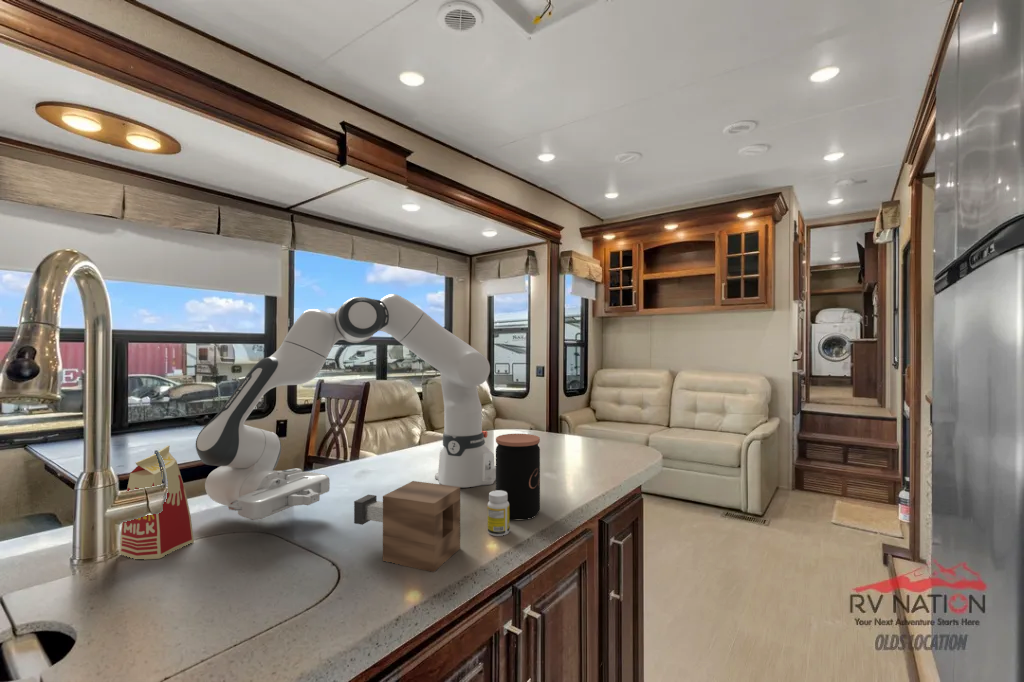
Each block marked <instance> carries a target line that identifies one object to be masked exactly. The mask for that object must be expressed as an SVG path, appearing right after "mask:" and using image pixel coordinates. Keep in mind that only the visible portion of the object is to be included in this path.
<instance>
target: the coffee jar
mask: <svg viewBox="0 0 1024 682" xmlns="http://www.w3.org/2000/svg"><path fill="white" fill-rule="evenodd" d="M540 440H541V438H540V437H539V436H537V435H535V434H531V433H530V434H529V433H506V434H502V435H500V434H499V435H498V436H496V437H495V442H496V444H497V446H496V447H495V466H496V480H495V491H496V490H501V491H505V492H507V496H508V500H507V501H508V502H509V520H510V519H527V520H529V519H528V518H531V519H533V518H534V516H535V517H536V516H537V515H538V514H539V512H540V510H541V449H540V446H539V444H540V442H541V441H540ZM537 513H538V514H537ZM532 517H533V518H532Z"/></svg>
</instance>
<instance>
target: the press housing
mask: <svg viewBox="0 0 1024 682" xmlns="http://www.w3.org/2000/svg"><path fill="white" fill-rule="evenodd" d="M382 502H383V522H382V562H383V561H387V562H386V563H388V562H392V563H391V564H393V563H395V564H394V565H398V564H400V565H399V566H402V567H403V566H404V567H406V568H407V567H408V568H413V569H418V570H422V571H427V572H433V573H435V572H436V571H437V570H438V569H439V568H440V567H442V565H444V564H445V563H446V562H447V561H448V560H449V559H450V558H451V557H452V556H454V555H455V554H456V553H457V552H458V551H459V550H460V549H461V487H457V486H449V485H442V484H440V483H432V482H426V481H425V482H424V481H423V482H422V481H416V480H412V481H409V482H408V483H406V484H404V485H402V486H400V487H398V488H396V489H394V490H393V491H391V492H388V493H386V494H384V495H382ZM444 562H445V563H444ZM443 563H444V564H443Z"/></svg>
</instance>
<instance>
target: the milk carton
mask: <svg viewBox="0 0 1024 682" xmlns="http://www.w3.org/2000/svg"><path fill="white" fill-rule="evenodd" d="M157 452H159V453H160V455H161V456H162V458H163V460H164V463H165V468H166V472H167V479H168V493H167V499H166V502H164V504H163V511H162V512H161V513H159V514H153V515H147V516H144V517H141V518H138V519H134V520H131V521H127V522H123V523H122V522H121V527H120V538H119V539H120V543H119V545H120V546H119V555H120V554H122V555H121V556H123V555H124V556H123V557H126V556H127V557H126V558H129V557H130V558H129V559H132V558H134V559H133V560H135V559H144V560H155V559H162V558H164V557H166V556H167V554H168V555H169V554H171V553H173V552H175V550H176V551H177V549H178V550H180V549H182V547H183V546H185V547H187V546H189V545H188V544H190V543H192V544H194V543H195V539H194V531H193V524H192V517H191V516H192V515H191V511H190V506H189V500H188V497H187V492H186V487H185V484H184V481H183V478H182V475H181V471H180V468H179V465H178V462H177V459H176V458H175V457H174V456H173V455H172V454H171V453H170V445H166V446H164V447H163V448H162V449H160V450H159V451H157ZM135 465H136V467H135V468H134V469H133V470H132V471H131V472H130V474H129V479H128V482H127V483H128V484H127V488H126V492H127V491H129V490H134V489H139V488H145V487H152V486H157V485H161V484H163V483H162V479H163V472H162V477H161V471H160V467H159V463H158V459H157V456H156V454H155V453H154V454H152V455H150V456H148V457H146V458H143V459H141V460H138V461H136V462H135ZM163 468H164V467H163ZM161 469H162V467H161ZM162 471H163V470H162ZM193 542H194V543H193ZM186 545H187V546H186ZM190 545H191V544H190ZM179 548H180V549H179ZM183 548H184V547H183ZM172 551H173V552H172ZM165 555H166V556H165Z"/></svg>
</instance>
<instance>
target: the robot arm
mask: <svg viewBox="0 0 1024 682" xmlns="http://www.w3.org/2000/svg"><path fill="white" fill-rule="evenodd" d="M377 332H384V333H386V334H387V335H390V336H391V337H392V338H394V340H396V341H397V342H399V344H401V345H402V346H403V347H405V348H406V349H407V350H409V351H410V352H411V353H413V354H414V355H415V356H416V357H418V358H420V360H421V361H424V362H425V363H427V364H429V365H430V366H431V367H432V368H434V369H436V370H437V371H439V373H440V383H441V392H442V393H441V394H442V399H443V411H444V413H443V414H444V416H443V417H444V426H443V427H444V431H443V433H442V446H443V448H442V449H440V451H439V458H438V469H437V470H438V472H437V473H435V474H434V479H436V480H437V481H438V484H441V485H449V486H457V487H460V488H470V487H471V488H472V487H478V486H487V485H488V486H489V485H493V484H494V483H495V482H496V465H495V454H494V452H493V451H492V450H490V448H489V447H488V446H487V445H486V441H485V439H487V438H488V431H487V430H483V429H482V428H483V423H482V421H483V419H482V418H483V413H482V412H483V407H482V403H481V400H480V396H479V391H478V386H480V385H483V384H484V383H485V382H486V381H487V380H488V378H489V375H490V373H491V366H490V361H489V360H488V358H486V356H485V355H484V354H482V353H481V352H479V351H478V350H477V349H476V348H474V347H473V346H472V345H470V344H468V343H467V342H466V341H465V340H462V339H461V338H460V337H458V336H457V335H455V334H453V333H452V332H451V331H449V330H447V328H444V327H443V325H441V324H440V323H439V322H437V321H436V320H435V319H433V318H432V317H431V316H430V315H428V314H427V313H426V312H425V311H423V310H422V309H421V308H420V307H418V306H417V305H416V304H414V303H412V302H411V301H410V300H408V299H406V298H404V297H402V296H400V295H398V294H396V293H389V294H387V295H385V296H383V297H382V298H381V299H380V300H379V299H375V298H369V297H364V296H354V297H351V298H349V299H346V301H344V302H343V304H341V305H340V306H339V308H338V309H337V310H336V311H335V312H328V311H324V310H322V309H320V308H319V309H317V308H312V309H307V310H305V311H303V312H302V314H301V315H300V316H299V317H298V318H297V320H296V321H295V322H294V323H293V325H292V326H291V328H290V329H289V330H288V332H287V334H286V335H285V337H284V339H283V341H282V343H281V344H280V346H279V347H278V348H277V350H276V351H274V353H273V354H271V355H270V356H268V357H264V358H262V359H260V360H258V362H256V364H255V365H254V366H253V367H252V368H251V369H250V370H249V372H248V373H247V374H246V376H245V377H244V378H243V379H242V381H241V382H240V384H239V385H238V386H237V387H236V389H235V390H234V391H233V393H231V395H230V396H229V398H228V400H227V401H226V402H225V403H224V405H223V406H222V407H221V408H220V410H219V411H218V412H217V413H216V414H215V415H214V417H213V418H212V419H211V420H210V421H208V423H206V425H204V426H203V428H202V429H201V430H200V432H199V433H198V435H197V436H196V437H197V438H196V440H195V450H196V454H197V456H198V457H199V459H200V460H201V462H202V463H203V464H205V465H207V466H217V468H215V469H213V470H212V471H211V472H210V473H209V474H208V476H207V477H206V478H205V479H206V480H205V483H204V488H205V492H206V494H207V496H208V497H209V499H210V500H212V501H214V502H215V503H217V504H220V505H221V506H226V507H228V510H229V511H235V512H237V514H238V516H240V517H242V518H245V519H248V520H251V521H252V520H253V521H257V520H262V519H265V518H267V517H270V516H272V515H274V514H277V513H279V512H283V511H284V510H288V509H289V508H292V507H295V506H303V505H304V506H311V505H312V504H315V503H317V502H319V501H320V497H321V495H323V494H326V493H328V492H329V491H330V488H331V487H330V486H331V483H330V477H329V476H328V475H326V474H322V473H318V472H310V471H303V470H302V469H301V468H290V469H283V470H275V469H276V467H277V466H278V463H279V461H280V457H281V453H282V442H281V440H280V438H279V436H278V435H277V434H276V432H273V431H269V430H267V429H262V428H259V427H255V426H250V425H246V424H245V422H246V420H247V419H248V418H249V416H250V414H251V413H252V412H253V411H254V409H255V408H256V406H257V405H258V403H260V401H261V399H263V396H264V395H266V393H268V392H269V391H270V390H272V389H274V388H277V387H282V386H296V385H303V384H306V383H308V382H311V381H313V380H314V379H315V378H316V377H317V376H318V374H319V373H320V372H321V371H322V369H323V367H324V365H325V363H326V362H327V361H326V360H327V358H328V356H329V354H330V352H331V350H332V349H333V347H334V345H335V344H337V343H345V344H349V345H350V344H351V345H354V344H355V345H356V344H360V343H363V342H365V341H367V340H369V339H370V338H372V337H373V336H374V335H375V334H376V333H377Z"/></svg>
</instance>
